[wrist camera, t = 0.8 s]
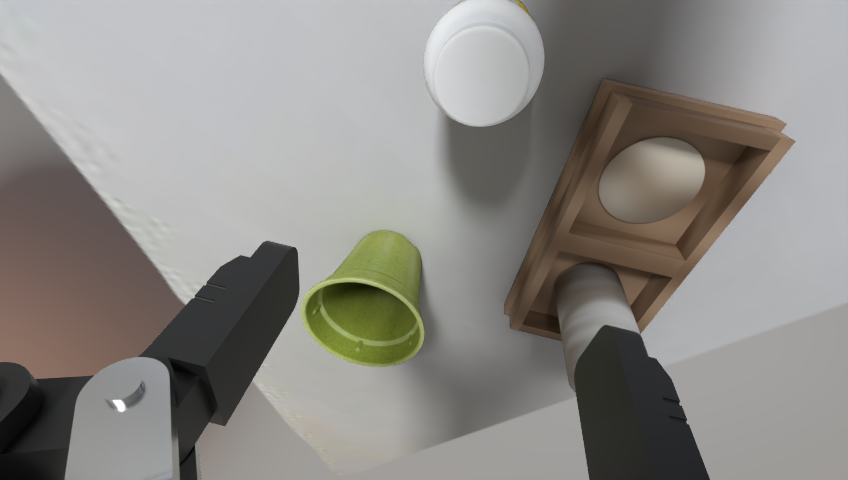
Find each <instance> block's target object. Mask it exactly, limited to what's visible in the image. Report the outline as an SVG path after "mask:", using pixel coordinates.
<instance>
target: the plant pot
mask: <svg viewBox="0 0 848 480" xmlns="http://www.w3.org/2000/svg"><path fill="white" fill-rule="evenodd" d="M420 274H421V257H420V253H419V251H418V249H417V248H416V247H415V246H414V245H412V244H411V243H410V242H409V241H408V240H407V239H406V238H405V237H404V236H403V235H401V234H398V233H395V232H392V231H376V232H372V233H370V234H368V235H367V236H365V237H364V238H363V239H362V240H361V241H360V242H359V243H358V244H357V245H356V247H355V248H354V249H353V250H352V252H351V253H350V254H349V255H348V257H347V258H346V259H345V260H344V261H343V263H342V264H341V265H340V266H339V267H338V269H337V270H336V271H335V272H334V274H333V275H331V276H330V277H328V278H327V279H325V280H324V281H322V282H320V283H318V284H316V285H315V286H313V287H312V288H311V289H310V290H309V291H308V293H307V294H306V295H305V297H304V299H303V302H302V305H301V316H302V321H303V324H304V326H305V328H306V330H307V331H308V333H309V334H310V335H311V337H312V338H313V339H314V340H315V341H316V342H317V343H318V344H319V345H320V346H321V347H323V348H324V349H325V350H327V351H328V352H330V353H331V354H333V355H335V356H337V357H339V358H341V359H343V360H346V361H348V362H351V363H355V364H358V365H363V366H372V367H386V366H393V365H397V364H400V363H403V362H405V361H407V360H409V359H411V358H412V357H413V356H414V355H415V354H416V353H417V352H418V351H419V350H420V348H421V347H422V344H423V341H424V335H425V329H424V323H423V320H422V317H421V315H420V309H419V292H420Z"/></svg>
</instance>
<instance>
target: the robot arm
mask: <svg viewBox="0 0 848 480" xmlns="http://www.w3.org/2000/svg"><path fill="white" fill-rule="evenodd" d="M298 296H299V269H298V252H297V249H296V248H295V247H291V246H287V245H283V244H278V243H274V242H270V241H265V242H263V243H262V244H261V245H260V247H259V248H258V249H257V250H256V251H255V253H254V254H253V255H252V256H251V257H250V258H249V257H245V256H241V255H240V256H238V257H237V258H235V259H233V260H231V261H230V262H228V263H226V264H225V265H223V266H221V267H220V268H219V269H218V270H217V271H216V272H215V274H214V275H213V276H212V277H211V278H210V279H209V280H208V281H207V284H206V286H203V287H202V288H201V289H200V290H199V291H198V293H197V294H196V295H195V298H194V299H191V300H190V301H189V303H188V304H187V305H186V306H185V307H184V308H183V309H182V310H181V311H180V313H179V314H178V315H177V316H176V317H175V318H174V319H173V320H172V322H171V323H170V324H169V325H168V326H167V327H166V328H165V329H164V330H163V332H162V333H161V334H160V335H159V336H158V337H157V338H156V339H155V340H154V341H153V343H152V344H151V345H150V346H149V347H148V348H147V349H146V350H145V351H144V352H143V353H142V354H141V355H139V356H138V357H136V358H130V359H125V360H122V361H119V362H117V363H114V364H112V365H110V366H108V367H106V368H105V369H103V370H102V371H100V372H99V373H97V374H96V375H93V376H83V377H65V378H48V379H35V378H34V377H33V376H32V375H31V374H30V372H29V371H28V370H27V369H26V368H25V367H23V366H21V365H19V364H16V363H9V362H0V480H202V478H201V465H200V453H199V441H198V438H199V437H200V435H201V434H202V432H203V430H204V429H205V427H206V426H207V424H208V423H209V422H211V423H215V424H219V425H222V426H225V425H226V424H227V422H228V420H229V418H230V417H231V415H232V414H233V412H234V410H235V408H236V407H237V405H238V403H239V402H240V400H241V398H242V397H243V395H244V393H245V391H246V390H247V388H248V386H249V385H250V383H251V381H252V380H253V378H254V376H255V375H256V373H257V371H258V369H259V368H260V366H261V364H262V363H263V361H264V359H265V358H266V356H267V354H268V352H269V351H270V349H271V347H272V346H273V344H274V342H275V341H276V339H277V337H278V336H279V334H280V332H281V330H282V329H283V327H284V325H285V324H286V322H287V320H288V319H289V317H290V315H291V313H292V312H293V310H294V308H295V305H296V303H297V300H298ZM574 383H575V390H576V396H577V402H578V409H579V415H580V422H581V428H582V434H583V440H584V447H585V453H586V459H587V466H588V473H589V479H590V480H710V479H709V476H708V473H707V471H706V468H705V465H704V463H703V460H702V458H701V455H700V452H699V450H698V447H697V445H696V442H695V439H694V437H693V434H692V432H691V429H690V426H689V425H688V424H687V423H686V421H687V419H686V416H685V413H684V411H683V408H682V406H680V405H679V402H680V400H679V398H678V395H677V393H676V390H675V387H674V384H673V382H672V380H671V378H670V377H669V375H668V374H667V373H666V372H665V370H664V369H663V367H662V366H661V365H660V363H659V362H658V361H657V359H655V358H651V357H648V354H647V351H646V348H645V345H644V343H643V340H642V337H641V336H640V334H639V333H637V332H634V331H630V330H626V329H622V328H618V327H614V326H610V325H604V326H602V327H601V328H600V329H599V331H598V332H597V334H596V335H595V336H594V338H593V339H592V341H591V342H590V343H589V345H588V346H587V347H586V349H585V350H584V352H583V353H582V354H581V356H580V357H579V359H578V361H577V363H576V367H575V372H574Z"/></svg>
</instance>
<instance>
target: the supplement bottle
mask: <svg viewBox="0 0 848 480" xmlns="http://www.w3.org/2000/svg"><path fill="white" fill-rule="evenodd" d="M544 60H545V58H544V47H543V42H542V38H541V35H540V32H539V30H538V28H537V26H536V24H535V22H534V20H533V18H532V17H531V16H530V14H529V12H528V11H527V9H526V8H525V6H524V5H523V4H522V2H521V1H519V0H461V1H460V2H458V3H457V4H456V5H455V6H454V7H452V8H451V9H450V10H449V11H448V12H447V13H446V14H445V15H444V16H443V17H442V18H441V19H440V20H439V21H438V23H437V24H436V26H435V27H434V29H433V31H432V33H431V34H430V37H429V39H428V42H427V45H426V48H425V53H424V61H423V69H424V78H425V82H426V86H427V89H428V91H429V94H430V96H431V97H432V99H433V101H434V102H435V104H436V105H437V106H438V107H439V109H440V110H441V111H442V112H443V113H444V114H446V115H447V116H448V117H450V118H451V119H453V120H455V121H457V122H459V123H462V124H464V125H468V126H473V127H487V126H492V125H496V124H500V123H502V122H504V121H507V120H509V119H510V118H512V117H514V116H515V115H516V114H518V113H519V112H520V111H521V110H522V109H523V108H524V107H525V106H526V105H527V104H528V103H529V102H530V100H531V99H532V97H533V96H534V94H535V93H536V91H537V89H538V87H539V84H540V82H541V78H542V75H543V70H544Z"/></svg>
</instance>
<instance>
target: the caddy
mask: <svg viewBox="0 0 848 480" xmlns="http://www.w3.org/2000/svg"><path fill="white" fill-rule="evenodd" d="M785 126H786V123H784V122H783V121H781V120H779V119H777V118H775V117H771V116H767V115H763V114H758V113H754V112H749V111H745V110H741V109H736V108H732V107H727V106H723V105H719V104H714V103H710V102H705V101H701V100H697V99H692V98H688V97H684V96H679V95H675V94H670V93H666V92H662V91H657V90H653V89H648V88H644V87H640V86H635V85H631V84H626V83H622V82H618V81H613V80H609V79H605V78H603V80H602V82H601V84H600V87H599V89H598V91H597V94H596V96H595V98H594V100H593V103H592V105H591V107H590V110H589V112H588V114H587V116H586V119H585V121H584V123H583V126H582V128H581V130H580V132H579V135H578V137H577V139H576V142H575V144H574V146H573V148H572V151H571V153H570V155H569V158H568V160H567V162H566V164H565V167H564V169H563V171H562V174H561V176H560V178H559V180H558V183H557V185H556V187H555V190H554V192H553V194H552V196H551V199H550V201H549V203H548V206H547V208H546V210H545V212H544V215H543V217H542V219H541V222H540V224H539V226H538V228H537V231H536V233H535V235H534V238H533V240H532V242H531V244H530V247H529V249H528V251H527V254H526V256H525V258H524V260H523V263H522V265H521V267H520V270H519V272H518V274H517V276H516V279H515V281H514V283H513V286H512V288H511V290H510V292H509V295H508V297H507V299H506V302H505V304H504V314H508V315H510V328H511V329H515V330H519V331H523V332H527V333H531V334H535V335H539V336H543V337H547V338H551V339H555V340H559V341H562V343H563V349H564V356H565V362H566V368H567V375H568V381H569V384H570V386H571V388H572V389H573V390H574V391H575V392H576V390H575V383H574V372H575V367H576V363H577V361H578V359H579V357H580V356H581V354H582V353H583V352H584V350H585V349H586V347H587V346H588V345H589V343H590V342H591V341H592V339H593V338H594V336H595V335H596V334H597V332H598V331H599V329H600V328H601V327H602V326H604V325H610V326H614V327H618V328H622V329H626V330H630V331H634V332H637V333H639V334H640V336H641V333H642V331H643V330H644V329H645V328H646V326H647V325H648V324H649V323H650V321H651V320H652V319H653V318H654V316H655V315H656V314H657V313H658V311H659V310H660V309H661V308H662V307H663V305H664V304H665V303H666V302H667V300H668V299H669V298H670V297H671V295H672V294H673V293H674V292H675V290H676V289H677V288H678V287H679V285H680V284H681V283H682V282H683V280H684V279H685V278H686V277H687V275H688V274H689V273H690V272H691V270H692V269H693V268H694V267H695V266H696V264H697V263H698V262H699V261H700V259H701V258H702V257H703V256H704V254H705V253H706V252H707V251H708V249H709V248H710V247H711V246H712V244H713V243H714V242H715V241H716V239H717V238H718V237H719V236H720V234H721V233H722V232H723V231H724V229H725V228H726V227H727V226H728V225H729V223H730V222H731V221H732V220H733V218H734V217H735V216H736V215H737V213H738V212H739V211H740V210H741V208H742V207H743V206H744V205H745V203H746V202H747V201H748V200H749V198H750V197H751V196H752V195H753V193H754V192H755V191H756V190H757V189H758V187H759V186H760V185H761V184H762V182H763V181H764V180H765V179H766V177H767V176H768V175H769V174H770V172H771V171H772V170H773V169H774V167H775V166H776V165H777V164H778V162H779V161H780V160H781V159H782V157H783V156H784V155H785V154H786V152H787V151H788V150H789V149H790V148H791V146H792V145H793V144H794V143H795V141H794V140H793V139H791V138H789V137H788V136H786V135H785V134H783V133H781V131H782V130H783V128H784V127H785ZM643 343H644V342H643ZM646 351H647V350H646ZM647 354H648V353H647ZM648 357H649V356H648Z"/></svg>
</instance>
